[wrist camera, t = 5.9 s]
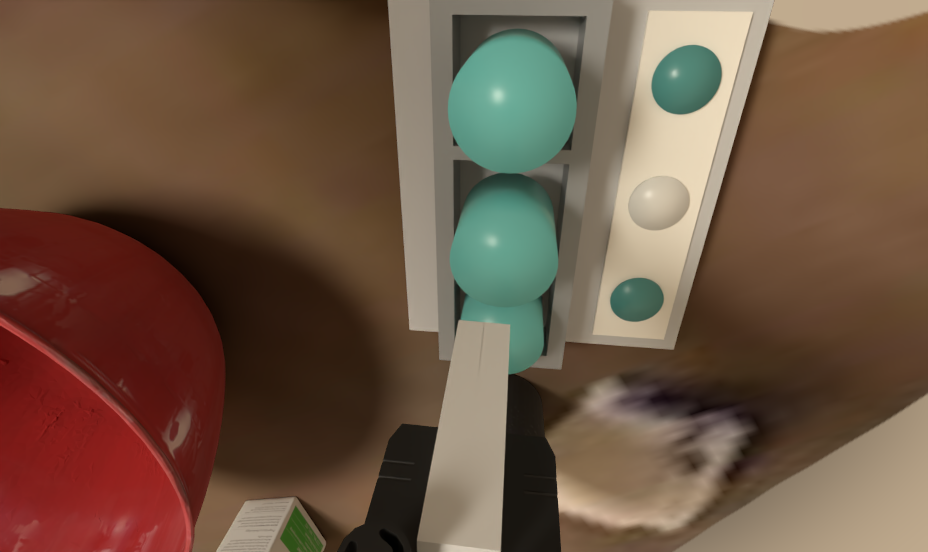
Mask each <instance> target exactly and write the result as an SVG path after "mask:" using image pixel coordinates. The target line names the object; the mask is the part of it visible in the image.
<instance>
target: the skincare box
mask: <svg viewBox="0 0 928 552" xmlns="http://www.w3.org/2000/svg"><path fill="white" fill-rule="evenodd" d="M325 546H326V541H325V539H324V538H323V537H322V535H321V534H320V532H319V530H318V529H317V527H316V526H315V524H314V523H313V521H312V520H311V518H310V517H309V515H308V514H307V512H306V511H305V509H304V508H303V506H302V505H301V503H300V502H299V500H298V499H297V498H296V497H284V498H272V499H260V500H248V501H245V503H244V505H243V507H242V508H241V510H240V512H239V513H238V515H237V517H236V518H235V520H234V522H233V524H232V525H231V527H230V529H229V530H228V532H227V534H226V536H225V537H224V539H223V541H222V543H221V544H220V546H219V548H218V549H217V551H216V552H323V551H324V549H325Z"/></svg>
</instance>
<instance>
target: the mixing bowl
mask: <svg viewBox="0 0 928 552" xmlns="http://www.w3.org/2000/svg"><path fill="white" fill-rule="evenodd" d="M224 399H225V358H224V352H223V345H222V341H221V337H220V334H219V331H218V329H217V326H216V324H215V321H214V319H213V316H212V314H211V312H210V310H209V309H208V307H207V306H206V304H205V303H204V301H203V299H202V298H201V296H200V295H199V293H198V292H197V291H196V289H195V288H194V287H193V286H192V285H191V284H190V283H189V281H188V280H187V279H186V278H185V277H184V276H183V275H182V274H181V273H180V272H179V271H178V270H177V269H176V268H175V267H173V266H172V265H171V264H170V263H169V262H168V261H166V260H165V259H164V258H163V257H162V256H160V255H159V254H157V253H156V252H155V251H153V250H151V249H150V248H148V247H147V246H145V245H144V244H142V243H140V242H139V241H137V240H135V239H133V238H131V237H129V236H127V235H125V234H123V233H121V232H119V231H116V230H114V229H112V228H109V227H107V226H105V225H102V224H99V223H96V222H92V221H89V220H85V219H81V218H78V217H74V216H70V215H65V214H59V213H51V212H40V211H31V210H19V209H4V208H0V552H192V548H193V543H194V527H195V524H196V522H197V519H198V516H199V513H200V510H201V507H202V504H203V501H204V498H205V494H206V491H207V487H208V484H209V480H210V477H211V474H212V469H213V465H214V460H215V456H216V451H217V447H218V442H219V435H220V429H221V423H222V415H223V407H224Z"/></svg>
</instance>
